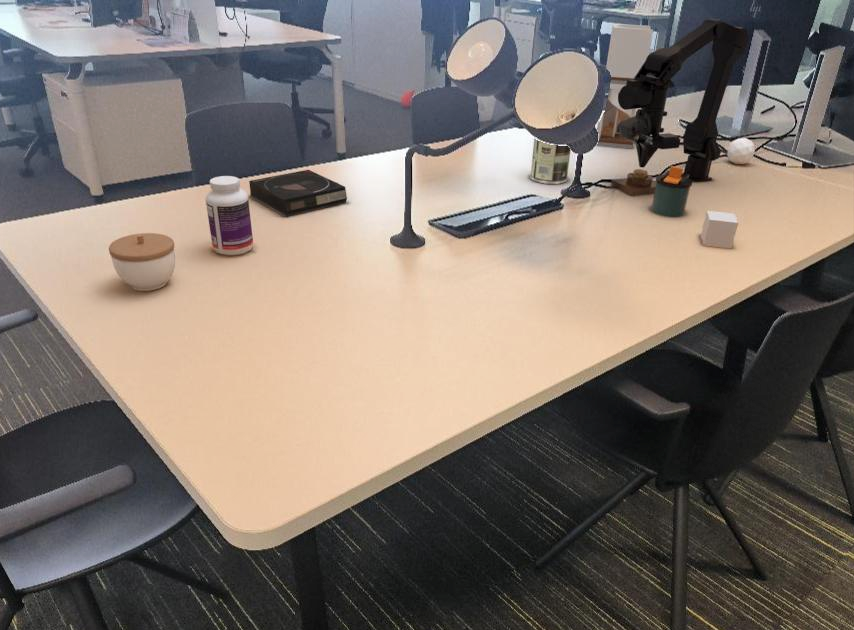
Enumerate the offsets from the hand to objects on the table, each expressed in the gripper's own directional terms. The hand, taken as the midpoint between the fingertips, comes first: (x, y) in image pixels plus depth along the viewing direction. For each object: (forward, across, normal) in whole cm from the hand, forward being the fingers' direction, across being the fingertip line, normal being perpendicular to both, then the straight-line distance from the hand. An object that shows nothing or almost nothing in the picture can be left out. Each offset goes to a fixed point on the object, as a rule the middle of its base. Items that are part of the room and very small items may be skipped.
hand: (641, 167), depth 186 cm
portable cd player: (+6, -18, -88) cm, 90 cm away
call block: (+6, 0, 0) cm, 6 cm away
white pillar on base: (+6, -42, +23) cm, 48 cm away
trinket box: (+6, +18, -125) cm, 127 cm away
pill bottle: (+6, +7, -108) cm, 108 cm away
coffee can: (+6, -15, -19) cm, 25 cm away
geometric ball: (+6, -11, +47) cm, 49 cm away
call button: (+3, 0, 0) cm, 3 cm away
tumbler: (+6, +17, -4) cm, 18 cm away
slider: (-2, +18, -6) cm, 19 cm away
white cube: (+6, +37, -7) cm, 38 cm away
